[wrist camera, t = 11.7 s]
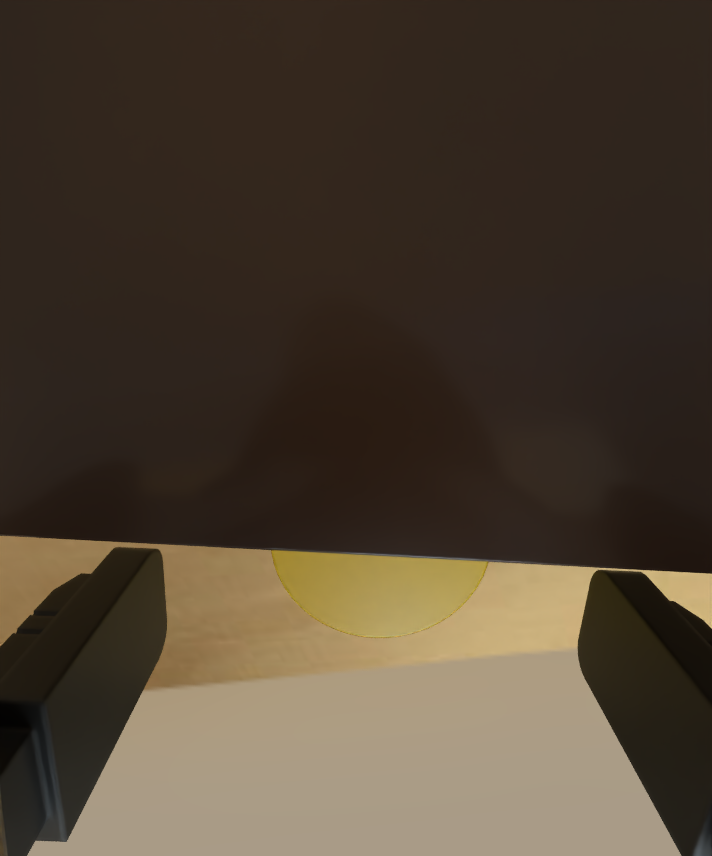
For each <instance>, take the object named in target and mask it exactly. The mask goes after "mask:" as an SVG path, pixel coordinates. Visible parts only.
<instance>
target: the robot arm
mask: <svg viewBox="0 0 712 856" xmlns="http://www.w3.org/2000/svg"><path fill="white" fill-rule="evenodd" d="M166 630H167V614H166V599H165V585H164V571H163V559H162V555H161V552H160V551H159V550H158V549H148V548H126V547H116V548H114V549H113V550H112V551H111V552H110V553H109V554H108V555H107V556H106V557H105V559H104V560H103V561H102V562H101V563H100V564H99V566H98V567H97V568H96V569H95V570H94V571H93V573H92V574H80V575H78V576H76V577H75V578H73V579H71V580H70V581H68V582H66V583H65V584H63V585H61V586H60V587H58V588H56V589H55V590H53V591H52V592H51V593H50V594H49V595H48V596H47V598H46V599H45V600H44V601H43V602H42V603H41V604H40V605H39V606H38V607H37V608H36V609H35V610H34V614H33V615H30V616H29V617H28V618H27V619H26V620H25V621H24V622H23V623H22V624H21V625H20V626H19V627H18V629H17V633H13V634H12V635H11V636H10V637H9V638H8V639H7V640H6V641H5V642H4V644H3V645H2V646H1V647H0V856H27V855H28V853H29V851H30V849H31V847H32V845H33V844H34V842H35V841H60V842H66V841H67V840H68V838H69V836H70V834H71V832H72V830H73V828H74V826H75V824H76V822H77V820H78V818H79V816H80V814H81V812H82V810H83V808H84V806H85V804H86V802H87V800H88V798H89V796H90V794H91V792H92V790H93V788H94V786H95V784H96V782H97V780H98V778H99V776H100V774H101V772H102V770H103V769H104V767H105V764H106V762H107V760H108V758H109V756H110V754H111V753H112V751H113V749H114V747H115V744H116V743H117V741H118V739H119V737H120V735H121V733H122V731H123V729H124V727H125V725H126V723H127V721H128V719H129V717H130V715H131V713H132V711H133V709H134V707H135V705H136V703H137V701H138V699H139V697H140V695H141V693H142V691H143V689H144V687H145V685H146V683H147V681H148V679H149V677H150V675H151V673H152V671H153V670H154V668H155V666H156V664H157V662H158V660H159V657H160V655H161V653H162V650H163V646H164V642H165V637H166ZM578 657H579V663H580V667H581V670H582V673H583V675H584V677H585V680H586V681H587V683H588V685H589V687H590V689H591V691H592V692H593V694H594V696H595V698H596V700H597V702H598V703H599V705H600V707H601V709H602V710H603V713H604V714H605V716H606V718H607V720H608V722H609V723H610V725H611V727H612V729H613V731H614V733H615V735H616V736H617V738H618V740H619V742H620V744H621V746H622V747H623V749H624V751H625V753H626V754H627V757H628V758H629V760H630V762H631V764H632V766H633V768H634V769H635V771H636V773H637V775H638V777H639V779H640V780H641V782H642V784H643V786H644V788H645V789H646V791H647V793H648V795H649V797H650V799H651V800H652V802H653V804H654V806H655V808H656V810H657V811H658V813H659V815H660V817H661V819H662V821H663V822H664V824H665V826H666V828H667V830H668V832H669V833H670V835H671V837H672V839H673V841H674V843H675V844H676V846H677V848H678V850H679V852H680V854H681V855H682V856H712V629H711V628H710V627H709V626H708V625H707V624H706V623H705V622H704V621H703V620H702V619H700V618H699V617H697V616H696V615H694V614H693V613H691V612H690V611H688V610H687V609H685V608H683V607H682V606H680V605H679V604H677V603H676V602H674V601H669V600H668V599H667V598H666V597H665V596H664V594H663V593H662V592H661V591H660V590H659V589H658V588H657V587H656V586H655V585H654V584H653V583H652V581H651V580H650V579H649V578H648V577H647V576H646V575H645V574H643V573H642V572H633V571H611V570H598V571H596V572H595V573H594V574H593V576H592V578H591V582H590V586H589V591H588V596H587V600H586V605H585V610H584V615H583V620H582V624H581V629H580V634H579V639H578Z"/></svg>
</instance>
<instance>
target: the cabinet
mask: <svg viewBox="0 0 712 856" xmlns="http://www.w3.org/2000/svg"><path fill="white" fill-rule="evenodd" d="M0 536H18V537H37V538H56V539H75V540H93V541H112V542H131V543H149V544H168V545H187V546H206V547H224V548H243V549H262V550H280V551H299V552H318V553H337V554H355V555H374V556H393V557H412V558H430V559H449V560H468V561H486V562H505V563H524V564H543V565H561V566H580V567H599V568H617V569H636V570H655V571H674V572H692V573H711V574H712V0H0Z"/></svg>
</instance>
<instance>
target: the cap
mask: <svg viewBox="0 0 712 856" xmlns="http://www.w3.org/2000/svg"><path fill="white" fill-rule="evenodd" d="M271 553H272V558H273V562H274V566H275V568H276V571H277V574H278V576H279V578H280V580H281V582H282V584H283V586H284V588H285V589H286V590H287V592H288V593H289V595H290V596H291V597H292V599H293V600H294V601H295V602H296V603H297V604H298V605H299V606H300V607H301V608H302V609H303V610H304V611H305V612H307V613H308V614H309V615H310V616H312V617H313V618H315V619H316V620H318V621H319V622H321V623H323V624H325V625H327V626H329V627H331V628H333V629H335V630H338V631H341V632H344V633H347V634H352V635H356V636H361V637H370V638H390V637H399V636H404V635H409V634H413V633H416V632H419V631H422V630H425V629H427V628H430V627H432V626H434V625H436V624H438V623H440V622H441V621H443V620H444V619H446V618H448V617H449V616H451V615H452V614H453V613H454V612H455V611H457V610H458V609H459V608H460V607H461V606H462V605H463V604H464V603H465V602H466V601H467V600H468V599H469V598H470V596H471V595H472V594H473V592H474V591H475V590H476V588H477V587H478V585H479V583H480V581H481V579H482V578H483V576H484V573H485V570H486V568H487V565H488V562H486V561H468V560H449V559H430V558H412V557H393V556H374V555H355V554H337V553H318V552H299V551H280V550H271Z"/></svg>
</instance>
